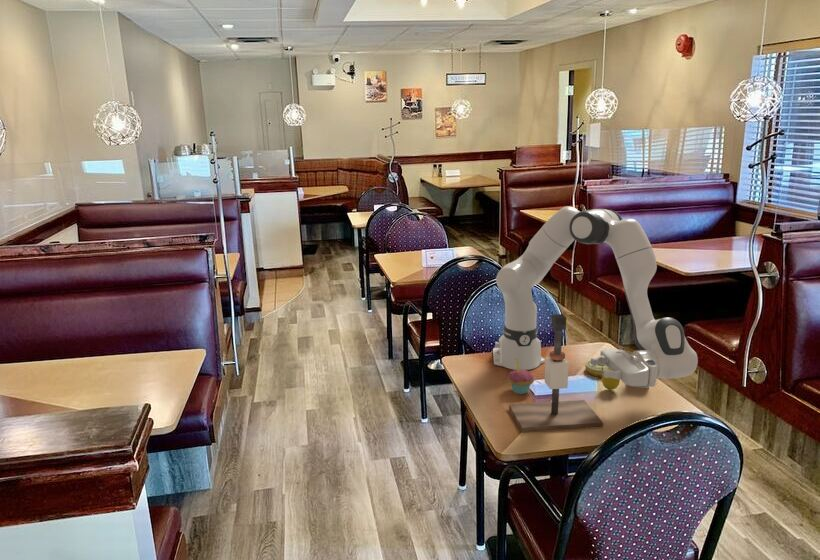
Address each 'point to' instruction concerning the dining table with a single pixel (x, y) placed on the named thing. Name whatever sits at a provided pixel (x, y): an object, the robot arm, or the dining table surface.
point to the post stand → (555, 401)
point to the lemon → (610, 382)
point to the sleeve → (556, 373)
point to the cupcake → (520, 380)
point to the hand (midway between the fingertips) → (597, 367)
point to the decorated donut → (595, 369)
